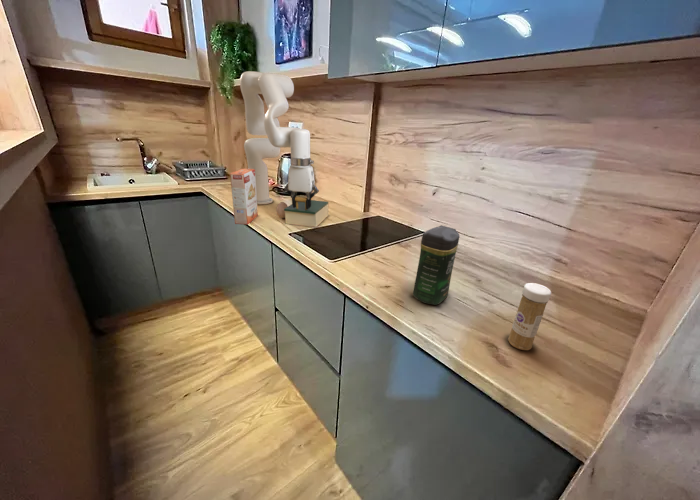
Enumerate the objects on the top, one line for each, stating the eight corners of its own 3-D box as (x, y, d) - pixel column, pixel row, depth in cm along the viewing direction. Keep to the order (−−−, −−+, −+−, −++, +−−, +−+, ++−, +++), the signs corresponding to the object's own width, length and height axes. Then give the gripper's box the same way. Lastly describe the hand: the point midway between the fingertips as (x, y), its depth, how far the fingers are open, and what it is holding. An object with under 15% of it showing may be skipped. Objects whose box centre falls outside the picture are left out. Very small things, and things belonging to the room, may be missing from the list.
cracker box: (249, 225, 125) (244, 173, 116) (234, 224, 125) (228, 172, 116) (259, 215, 137) (255, 168, 129) (245, 215, 138) (241, 167, 129)
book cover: (315, 214, 123) (315, 200, 121) (284, 210, 126) (283, 197, 124) (328, 203, 140) (328, 191, 137) (300, 200, 142) (300, 188, 140)
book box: (315, 227, 126) (315, 213, 124) (285, 223, 129) (284, 210, 127) (328, 215, 142) (328, 203, 140) (301, 212, 145) (300, 200, 142)
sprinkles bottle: (503, 340, 64) (519, 284, 59) (516, 334, 66) (533, 280, 61) (523, 354, 60) (542, 296, 55) (537, 347, 62) (557, 290, 57)
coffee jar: (437, 309, 73) (450, 238, 66) (408, 298, 78) (417, 229, 71) (452, 294, 81) (465, 228, 73) (424, 284, 85) (434, 220, 78)
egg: (290, 219, 135) (290, 202, 132) (278, 220, 132) (277, 203, 130) (287, 215, 139) (286, 200, 136) (275, 217, 137) (274, 200, 134)
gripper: (324, 163, 121) (324, 207, 128) (284, 160, 124) (286, 203, 131) (318, 165, 114) (318, 212, 121) (276, 162, 117) (278, 207, 124)
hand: (301, 207), depth 126 cm, fingers closed on book cover, 5 cm apart
